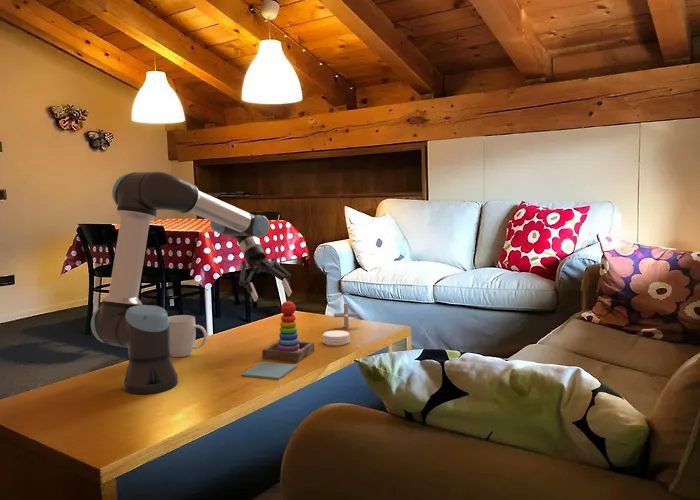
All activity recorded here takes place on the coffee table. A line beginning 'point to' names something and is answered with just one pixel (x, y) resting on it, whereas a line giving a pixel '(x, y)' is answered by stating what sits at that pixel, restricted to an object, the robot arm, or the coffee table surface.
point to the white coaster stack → (336, 337)
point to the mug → (183, 335)
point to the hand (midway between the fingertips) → (273, 296)
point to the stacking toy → (288, 329)
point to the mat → (269, 370)
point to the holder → (288, 352)
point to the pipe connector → (346, 315)
